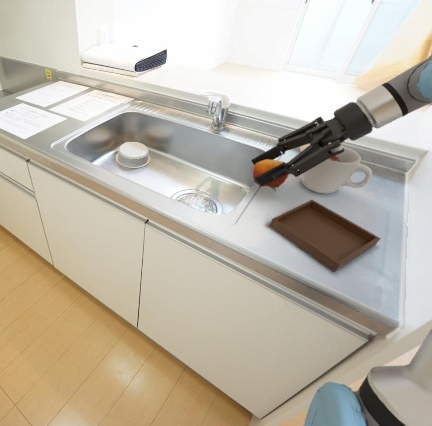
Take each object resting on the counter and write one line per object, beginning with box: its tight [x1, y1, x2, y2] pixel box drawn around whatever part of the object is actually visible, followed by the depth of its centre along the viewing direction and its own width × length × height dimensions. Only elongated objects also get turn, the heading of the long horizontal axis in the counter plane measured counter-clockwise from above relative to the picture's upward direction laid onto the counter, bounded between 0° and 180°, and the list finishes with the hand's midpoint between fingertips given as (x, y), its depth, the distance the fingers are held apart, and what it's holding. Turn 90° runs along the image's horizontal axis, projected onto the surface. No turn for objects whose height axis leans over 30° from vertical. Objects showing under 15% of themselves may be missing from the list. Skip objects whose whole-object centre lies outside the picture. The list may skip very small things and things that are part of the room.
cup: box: [301, 145, 373, 194], centre depth 72 cm, size 14×10×10 cm
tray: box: [268, 199, 382, 273], centre depth 62 cm, size 15×14×2 cm
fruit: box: [252, 159, 290, 193], centre depth 71 cm, size 8×8×8 cm
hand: (256, 172), depth 72 cm, fingers closed on fruit, 8 cm apart
